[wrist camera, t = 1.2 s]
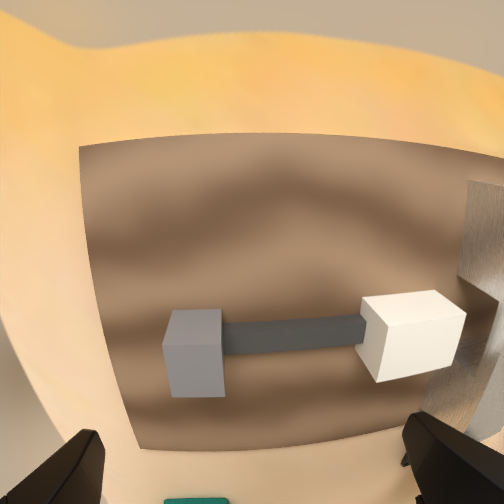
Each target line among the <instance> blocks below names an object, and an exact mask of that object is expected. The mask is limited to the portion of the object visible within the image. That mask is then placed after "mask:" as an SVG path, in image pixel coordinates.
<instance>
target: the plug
mask: <svg viewBox="0 0 504 504" xmlns="http://www.w3.org/2000/svg"><path fill="white" fill-rule="evenodd" d="M466 314H467V313H465V312H464V311H463V310H461V309H460V308H459V307H457V306H456V305H455V304H453V303H452V302H451V301H449V300H448V299H447V298H445V297H444V296H443V295H441V294H440V293H438V292H437V291H436V290H428V291H419V292H410V293H400V294H391V295H380V296H370V297H362V303H361V310H360V314H351V315H341V316H330V317H318V318H305V319H292V320H276V321H259V322H238V323H222V309H198V310H173V311H172V314H171V317H170V320H169V324H168V327H167V330H166V334H165V337H164V340H163V344H162V348H163V353H164V359H165V364H166V370H167V375H168V380H169V385H170V390H171V395H172V397H225V356H224V355H237V354H256V353H272V352H286V351H298V350H309V349H319V348H328V347H337V346H346V345H354V344H355V350H356V351H357V353H358V355H359V356H360V358H361V359H362V361H363V362H364V364H365V366H366V367H367V369H368V370H369V372H370V374H371V375H372V377H373V378H374V380H375V382H376V383H378V382H383V381H388V380H393V379H398V378H402V377H407V376H411V375H416V374H420V373H424V372H428V371H432V370H436V369H440V368H444V367H447V366H451V364H452V362H453V359H454V355H455V352H456V349H457V346H458V343H459V339H460V336H461V333H462V329H463V325H464V322H465V318H466Z"/></svg>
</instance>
